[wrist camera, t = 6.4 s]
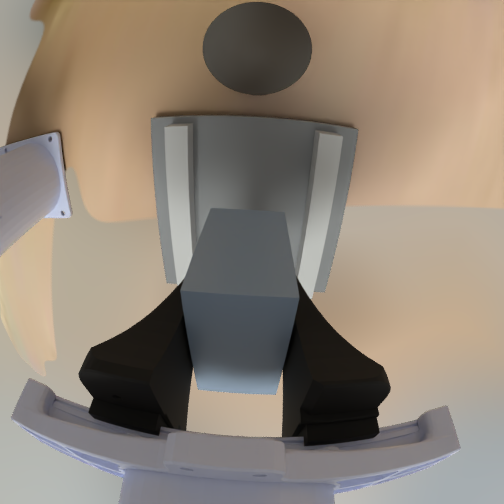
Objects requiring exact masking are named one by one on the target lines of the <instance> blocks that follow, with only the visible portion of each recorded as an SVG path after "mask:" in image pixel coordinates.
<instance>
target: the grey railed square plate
mask: <svg viewBox="0 0 504 504" xmlns="http://www.w3.org/2000/svg"><path fill="white" fill-rule="evenodd" d="M357 136H358V129H356V128H353V127H347V126H341V125H335V124H328V123H322V122H314V121H306V120H297V119H288V118H276V117H263V116H244V115H181V116H162V117H154V118H151V138H152V158H153V173H154V186H155V198H156V208H157V217H158V225H159V234H160V241H161V249H162V256H163V262H164V269H165V276H166V281H167V283H172V284H177V285H179V284H180V283H181V282H182V280H183V279H184V278H185V276H186V273H187V270H188V267H189V264H190V262H191V259H192V256H193V253H194V251H195V248H196V245H197V243H198V240H199V237H200V235H201V232H202V229H203V227H204V224H205V222H206V219H207V217H208V214H209V212H210V209H211V208H223V209H243V210H260V211H275V212H285V217H286V222H287V228H288V233H289V239H290V244H291V250H292V256H293V262H294V267H295V273H296V276H297V278H298V280H299V281H300V283H301V285H302V287H303V288H304V290H305V292H306V293H307V295H308V296H309V298H310V299H312V296H313V292H325V289H326V286H327V282H328V278H329V274H330V270H331V266H332V263H333V259H334V254H335V250H336V246H337V242H338V237H339V233H340V229H341V224H342V220H343V215H344V210H345V205H346V200H347V195H348V190H349V185H350V179H351V174H352V168H353V162H354V156H355V150H356V143H357Z"/></svg>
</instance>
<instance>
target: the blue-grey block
mask: <svg viewBox="0 0 504 504" xmlns="http://www.w3.org/2000/svg"><path fill="white" fill-rule="evenodd" d="M180 292H181V299H182V306H183V312H184V318H185V325H186V330H187V336H188V342H189V347H190V353H191V358H192V363H193V368H194V373H195V378H196V382H197V387H198V390H207V391H218V392H229V393H245V394H273V395H276V392H277V388H278V385H279V381H280V377H281V373H282V370H283V366H284V362H285V358H286V354H287V350H288V346H289V342H290V337H291V333H292V329H293V324H294V320H295V316H296V311H297V307H298V302H299V292H298V286H297V280H296V273H295V267H294V262H293V256H292V250H291V244H290V239H289V233H288V228H287V222H286V217H285V212H275V211H260V210H243V209H223V208H211V209H210V212H209V214H208V217H207V219H206V222H205V224H204V227H203V229H202V232H201V235H200V237H199V240H198V243H197V245H196V248H195V251H194V253H193V256H192V259H191V262H190V264H189V267H188V270H187V273H186V276H185V278H184V281H183V284H182V287H181V290H180Z"/></svg>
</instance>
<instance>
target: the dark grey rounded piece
mask: <svg viewBox="0 0 504 504" xmlns="http://www.w3.org/2000/svg"><path fill="white" fill-rule="evenodd" d="M311 54H312V44H311V38H310V35H309V33H308V31H307V29H306V27H305V26H304V24H303V23H302V22H301V20H300V19H299V18H298V17H297V16H295V15H294V14H293V13H291V12H290V11H288V10H287V9H285V8H283V7H280V6H278V5H275V4H270V3H265V2H249V3H244V4H239V5H236V6H234V7H231V8H229V9H227V10H226V11H224V12H223V13H221V14H220V15H219V16H218V17H217V18H215V20H214V21H213V22H212V23H211V25H210V26H209V28H208V29H207V32H206V34H205V37H204V41H203V56H204V60H205V63H206V65H207V67H208V69H209V71H210V72H211V73H212V75H213V76H214V77H215V78H216V79H217V80H218V81H219V82H220V83H222V84H223V85H225V86H226V87H228V88H230V89H232V90H234V91H237V92H240V93H245V94H250V95H266V94H271V93H275V92H278V91H281V90H283V89H285V88H287V87H289V86H290V85H292V84H294V83H295V82H296V81H297V80H298V79H299V78H300V77H301V76H302V75H303V74H304V72H305V71H306V69H307V67H308V65H309V63H310V59H311Z"/></svg>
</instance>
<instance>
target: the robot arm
mask: <svg viewBox="0 0 504 504" xmlns="http://www.w3.org/2000/svg"><path fill="white" fill-rule="evenodd" d="M51 137H52V140H51ZM63 211H64V213H65V214H64V213H63ZM70 216H72V208H71V203H70V199H69V193H68V188H67V182H66V176H65V170H64V163H63V155H62V147H61V138H60V134H59V133H58V132H53V133H49V134H44V135H40V136H37V137H33V138H29V139H26V140H22V141H19V142H15V143H12V144H9V145H6V146H3V147H1V148H0V256H1V255H2V254H3V253H4V252H5V251H7V250H8V249H9V248H10V247H11V246H12V245H13V244H14V243H15V242H16V241H17V240H18V239H19V238H20V237H21V236H23V235H24V234H25V233H26V232H27V231H28V230H29V229H31V228H32V227H33V226H34V225H35V224H36V223H38V222H39V221H40V220H41V219H42V218H69V217H70ZM296 280H297V286H298V292H299V302H298V307H297V311H296V316H295V320H294V324H293V329H292V333H291V337H290V342H289V346H288V350H287V354H286V358H285V362H284V366H283V423H282V437H243V436H242V437H241V436H228V435H216V434H206V433H198V432H191V431H186V425H187V412H188V403H189V394H190V386H191V378H192V371H193V363H192V358H191V353H190V347H189V342H188V336H187V330H186V325H185V318H184V312H183V306H182V299H181V292H180V290H181V287H182V284H183V281H184V279H183V280H182V282H181V283H180V284H179V285H178V286H177V287H176V288H175V290H174V291H173V292H172V293H171V294H170V295H169V296H168V297H167V298H166V299H165V300H164V301H163V302H162V303H161V304H160V305H159V306H158V307H157V308H156V309H154V310H153V311H152V312H151V313H150V314H149V315H147V316H146V317H145V318H143V319H142V320H141V321H140V322H138V323H136V324H135V325H134V326H132V327H131V328H129V329H128V330H126V331H124V332H123V333H121V334H119V335H117V336H115V337H113V338H111V339H109V340H107V341H105V342H103V343H101V344H98V345H96V346H94V347H91V349H90V351H89V352H88V354H87V356H86V358H85V360H84V362H83V365H82V367H81V369H80V371H79V378H80V380H81V382H82V383H83V385H84V386H85V387H86V389H87V390H88V391H89V393H90V394H91V395H92V396H93V401H92V404H91V406H90V408H88V407H85V406H82V405H80V404H77V403H74V402H71V401H69V400H66V399H63V398H61V397H58V396H56V395H55V393H54V392H53V391H52V390H51V389H50V388H49V387H48V386H46V385H44V384H42V383H40V382H38V381H35V380H33V379H31V378H29V379H28V381H27V383H26V385H25V387H24V389H23V391H22V394H21V396H20V398H19V400H18V402H17V405H16V407H15V409H14V412H13V414H12V416H11V419H12V420H13V421H14V422H15V423H16V424H18V425H19V426H20V427H21V428H23V429H24V430H25V431H27V432H28V433H29V434H31V435H32V436H33V437H35V438H36V439H38V440H39V441H40V442H42V443H44V444H46V445H48V446H50V447H52V448H54V449H56V450H58V451H60V452H62V453H64V454H66V455H68V456H70V457H72V458H74V459H76V460H79V461H81V462H83V463H86V464H88V465H90V466H92V467H95V468H98V469H100V470H103V471H105V472H108V473H110V474H113V475H116V476H119V477H122V478H124V479H123V483H122V488H121V494H120V499H119V504H335V502H334V494H337V493H342V492H348V491H352V490H357V489H361V488H365V487H369V486H373V485H377V484H381V483H384V482H388V481H391V480H394V479H397V478H401V477H404V476H407V475H410V474H413V473H415V472H418V471H421V470H424V469H427V468H429V467H431V466H433V465H435V464H437V463H439V462H440V461H442V460H444V459H446V458H447V457H449V456H451V455H453V454H454V453H456V452H457V451H459V450H460V444H459V441H458V437H457V434H456V430H455V427H454V424H453V421H452V418H451V415H450V412H449V409H448V406H442V407H439V408H436V409H432V410H429V411H427V412H425V413H424V414H422V415H421V416H420V417H419V418H418V419H417V420H414V421H410V422H405V423H401V424H397V425H392V426H387V427H382V428H379V426H378V422H377V417H378V416H379V412H378V406H379V405H380V403H382V401H384V399H385V398H386V397H387V396H388V394H389V392H390V388H391V387H390V383H389V380H388V377H387V374H386V372H385V370H384V368H383V366H381V365H380V364H378V363H376V362H375V361H373V360H371V359H370V358H368V357H367V356H365V355H364V354H362V353H361V352H360V351H358V350H357V349H356V348H354V347H353V346H352V345H351V344H350V343H348V342H347V341H346V340H345V339H344V338H343V337H342V336H341V335H339V334H338V333H337V332H336V331H335V330H334V329H333V327H332V326H331V325H330V324H329V323H328V322H327V321H326V320H325V318H324V317H323V316H322V314H321V313H320V312H319V311H318V309H317V308H316V307H315V305H314V304H313V302H312V301H311V299H310V298H309V296H308V295H307V293H306V292H305V290H304V288H303V287H302V285H301V283H300V281H299V280H298V278H297V276H296Z"/></svg>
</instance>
